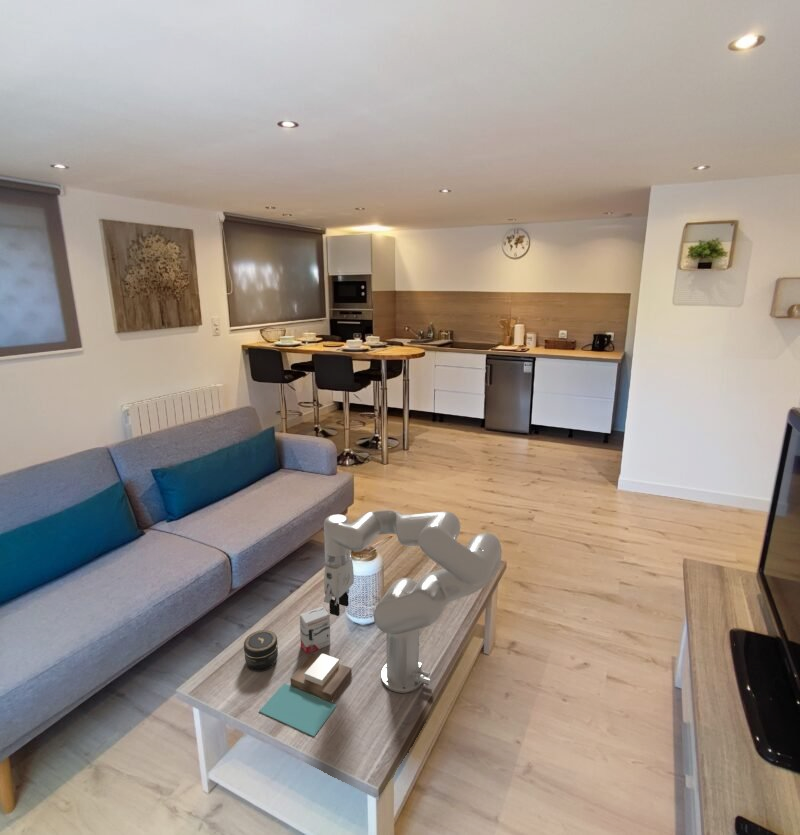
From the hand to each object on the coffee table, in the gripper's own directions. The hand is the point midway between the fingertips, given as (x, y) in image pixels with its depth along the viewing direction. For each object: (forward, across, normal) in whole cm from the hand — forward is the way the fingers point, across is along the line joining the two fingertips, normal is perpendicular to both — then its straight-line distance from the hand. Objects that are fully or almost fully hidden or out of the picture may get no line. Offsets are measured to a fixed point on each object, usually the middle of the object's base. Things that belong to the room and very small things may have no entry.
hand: (339, 609), depth 150 cm
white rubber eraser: (+15, -10, 0) cm, 18 cm away
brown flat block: (+17, -10, 0) cm, 20 cm away
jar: (+18, -12, +21) cm, 30 cm away
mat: (+17, -22, 0) cm, 28 cm away
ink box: (+18, +1, +10) cm, 20 cm away
